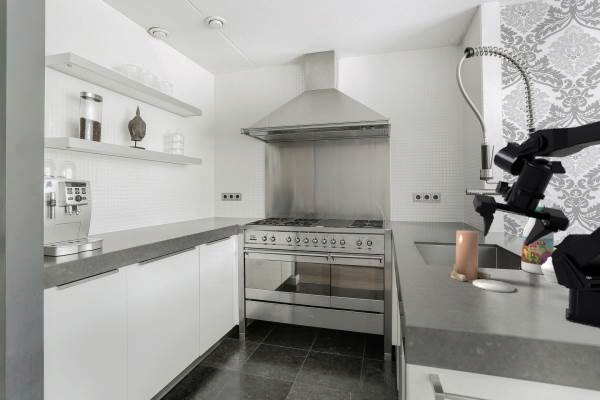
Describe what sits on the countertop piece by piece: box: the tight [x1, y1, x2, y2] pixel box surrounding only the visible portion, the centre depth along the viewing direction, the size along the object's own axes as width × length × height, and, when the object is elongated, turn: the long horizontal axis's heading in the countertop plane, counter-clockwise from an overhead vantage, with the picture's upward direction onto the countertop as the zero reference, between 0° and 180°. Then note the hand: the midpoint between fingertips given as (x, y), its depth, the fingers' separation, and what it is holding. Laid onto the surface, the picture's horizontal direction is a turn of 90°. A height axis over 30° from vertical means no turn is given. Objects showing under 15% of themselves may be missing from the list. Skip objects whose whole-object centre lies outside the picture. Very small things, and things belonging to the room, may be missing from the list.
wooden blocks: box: [450, 262, 491, 283], centre depth 87 cm, size 8×9×3 cm
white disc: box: [472, 278, 516, 293], centre depth 78 cm, size 9×9×1 cm
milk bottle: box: [520, 206, 555, 275], centre depth 94 cm, size 8×8×20 cm
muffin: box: [541, 257, 558, 284], centre depth 83 cm, size 6×6×7 cm
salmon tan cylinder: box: [455, 229, 480, 281], centre depth 86 cm, size 6×6×13 cm
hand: (504, 240), depth 77 cm, fingers open, 9 cm apart
